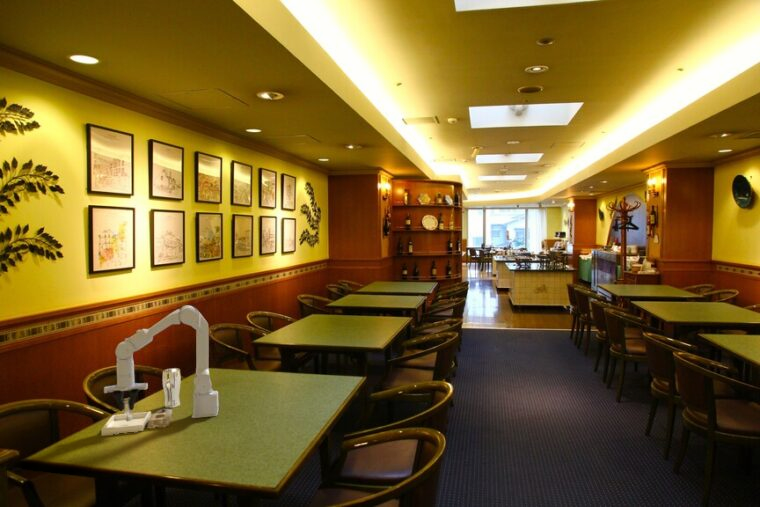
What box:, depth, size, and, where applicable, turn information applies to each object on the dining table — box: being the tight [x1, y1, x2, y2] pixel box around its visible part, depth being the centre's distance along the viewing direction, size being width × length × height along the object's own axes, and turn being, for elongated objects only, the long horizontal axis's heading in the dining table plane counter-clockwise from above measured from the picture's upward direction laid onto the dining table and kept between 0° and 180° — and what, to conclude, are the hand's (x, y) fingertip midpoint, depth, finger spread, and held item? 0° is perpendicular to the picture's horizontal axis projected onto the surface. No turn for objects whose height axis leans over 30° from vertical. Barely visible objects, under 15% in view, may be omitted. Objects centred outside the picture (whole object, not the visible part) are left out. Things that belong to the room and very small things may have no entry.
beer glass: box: [162, 367, 182, 409], centre depth 199 cm, size 7×7×15 cm
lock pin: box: [122, 397, 133, 421], centre depth 178 cm, size 3×3×8 cm
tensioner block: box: [147, 408, 173, 429], centre depth 183 cm, size 7×14×3 cm, turn 14°
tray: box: [100, 411, 152, 437], centre depth 178 cm, size 14×14×2 cm
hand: (126, 409), depth 178 cm, fingers closed on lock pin, 3 cm apart
